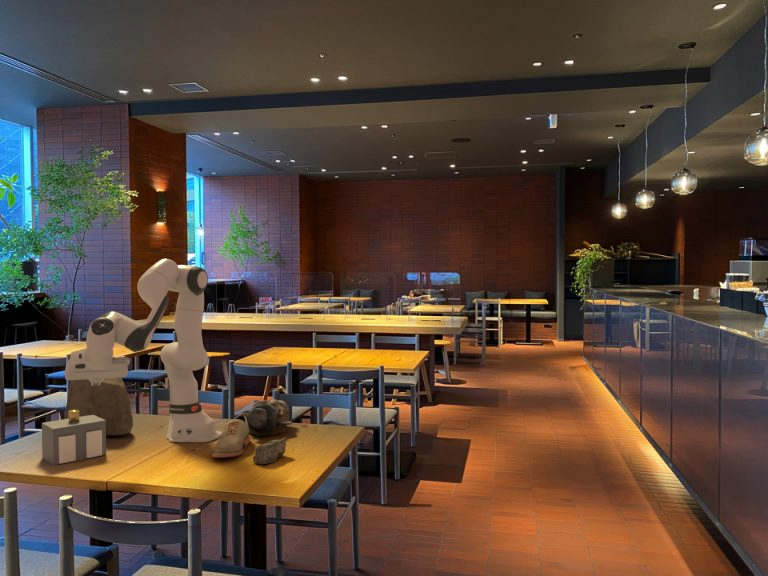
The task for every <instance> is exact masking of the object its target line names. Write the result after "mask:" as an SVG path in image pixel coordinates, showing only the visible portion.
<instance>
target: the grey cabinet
mask: <svg viewBox="0 0 768 576" xmlns="http://www.w3.org/2000/svg"><path fill="white" fill-rule="evenodd" d="M93 430H102V455H100V457H101V456H107V435H106V420H104V419H102V418H99V417H97V416H95V415H88V416H82V417H79V422H75V423H69V419H65V418H64V419H59V420H58V419H57V420H52V421H46V422H41V445H42V447H41V448H42V449H41V451H42V454H41V455H42V456H41V457H42V459H43V460H45V461H46V462H48V463H49V464H50V463H51V466H53V465H54V466H58V465H59V462H58V437H59V436H64V435H70V434H72V435H73V434H75V443H76V461H75V462H77V461H81V460H82V461H83V460H86V459H87V458H86V436H85V432H87V431H93Z"/></svg>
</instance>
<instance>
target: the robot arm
mask: <svg viewBox="0 0 768 576" xmlns="http://www.w3.org/2000/svg"><path fill="white" fill-rule="evenodd" d="M208 283H209V275H208V273H207V271H206V270H205V268H203V267H200V266H197V265H196V266H195V265H194V266H193V265H188V264H187V265H186V264H178V263H176V262H175V261H174V260H172V259H170V258H161V259H160V260H158V261H157V262H155V263H154V264H153V265H151V266H150V267H149V268H148V269H147V270H146V271H145V272H144V273H143V274H142V275H141V276H140V277H139V279H138V281H137V284H136V285H137V287H136V288H137V292H138V295H139V297H140V298H141V299H142V300H143V302H145V304H147V305H148V306H149V307H150V309H151V310H150V313H149V314H148V316H147V319H145V321H144V322H140V321H137V320H135V319H133V318H131V317H128V316H127V315H124V314H123V313H122V314H121V313H119V312H118V311H115V310H114V311H109V312H107V313H104V314H102V315H100V316H99V317H98V318H96V319H93V321H92V322H91V323H90V325H89V328H88V330H87V335H86V341H85V342H86V343H85V344H86V347H84V348H83V349H79V350H78V349H77V350H74V351H72V352H71V353H70V357H69V358H68V360H67V362H66V365H65V371H64V377H65V380H66V381H71V380H83V379H89V381H90V382H91V386H95V385H100V384H101V382H102V381H103V380H104V379H105V378H119V377H121V378H126V377H127V376H128V374H129V367H128V366H129V365H130V363H131V358H130V357H127V356H125V355H123V356H114V346H115V343H116V344H119V345H121V346H123V347H125V349H128V350H130V351H131V352H133V353H138V352H141V351H145V350H147V348H148V347H149V345H150V344H151V342H152V339H153V336H154V335H155V332H156V329H157V328H158V326H159V324H160V323H161V321H162V318H163V316H164V315H165V313H166V311H167V308H168V305H169V301H170V297H169V295H167V294H168V292H176V293H178V297H177V301H176V302H177V303H176V307H175V315H174V321H173V329H174V331H175V333H176V338H177V341H175V342H171V343H167V344H165V345H164V346H163V347H162V348H161V351H160V359H161V362H162V363H163V365H164V367H165V371H166V374H167V379H168V384H169V401H170V402H169V403H168V412H169V423H168V429H167V430H168V431H167V434H166V436H165V438H166V439H167V440H168V441H169V443H171V442H172V443H209V442H211V441H214V440H217V439H220V437H221V436H222V434H223V431H220V430H217V426H216V425H217V424H216V422H215V420H214V419H213V418H212V417H210V416H209V414H207V413H205V412H204V411H203V408H202V407H204V403H200V401H199V395H198V394H199V389H198V387H199V384H198V381H197V379H196V378H195V376H194V373H193V371H198V370H202V369H203V368H204V367H205V366H206V365H207V363H208V357H209V356H208V353H207V350H206V349H205V347H204V344H203V343H204V342H203V336H202V334H203V333H202V326H203V318H204V310H205V309H204V308H205V294H204V291H205V289H206V288H207V286H208Z"/></svg>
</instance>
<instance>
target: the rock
mask: <svg viewBox="0 0 768 576" xmlns="http://www.w3.org/2000/svg"><path fill="white" fill-rule="evenodd" d="M286 446H287V438H286V437H282V439H273V440H269V441H267V442H266V443H263V444H262V443H261V444H259V445H257V446H256V448H255V451H254V452H255V453H254V455H253V456H252V461H253V463H255V464H259V465H264V464H265V465H266V464H272V463H276V461H277V460H278V459H277V458H280V457H282V456H283V455H284V454H285V452H286Z"/></svg>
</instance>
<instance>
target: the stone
mask: <svg viewBox="0 0 768 576" xmlns="http://www.w3.org/2000/svg"><path fill="white" fill-rule="evenodd" d="M127 391H128V390H127V386H126V384H125V382H124V381H123V378H122V377H119V378H105V379H104V380H103V381H102V382H101V384H100V385H95V386H91V382H90V381H89V379H83V380H70V384H69V390H68V395H67V401H66V404H65V416H64V417H65V418H64V419H69V414H68V411H70V410H79V417H82V416H88V415H95V416H97V417H99V418H102V419H104V420H106V436H108V437H115V436H118V437H119V436H125V435H127V434H130V433H131V431H132V429H133V428H134V427H133V426H134V418H133V413H132V407H131V402H130V397H129V394H128V392H127Z"/></svg>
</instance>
